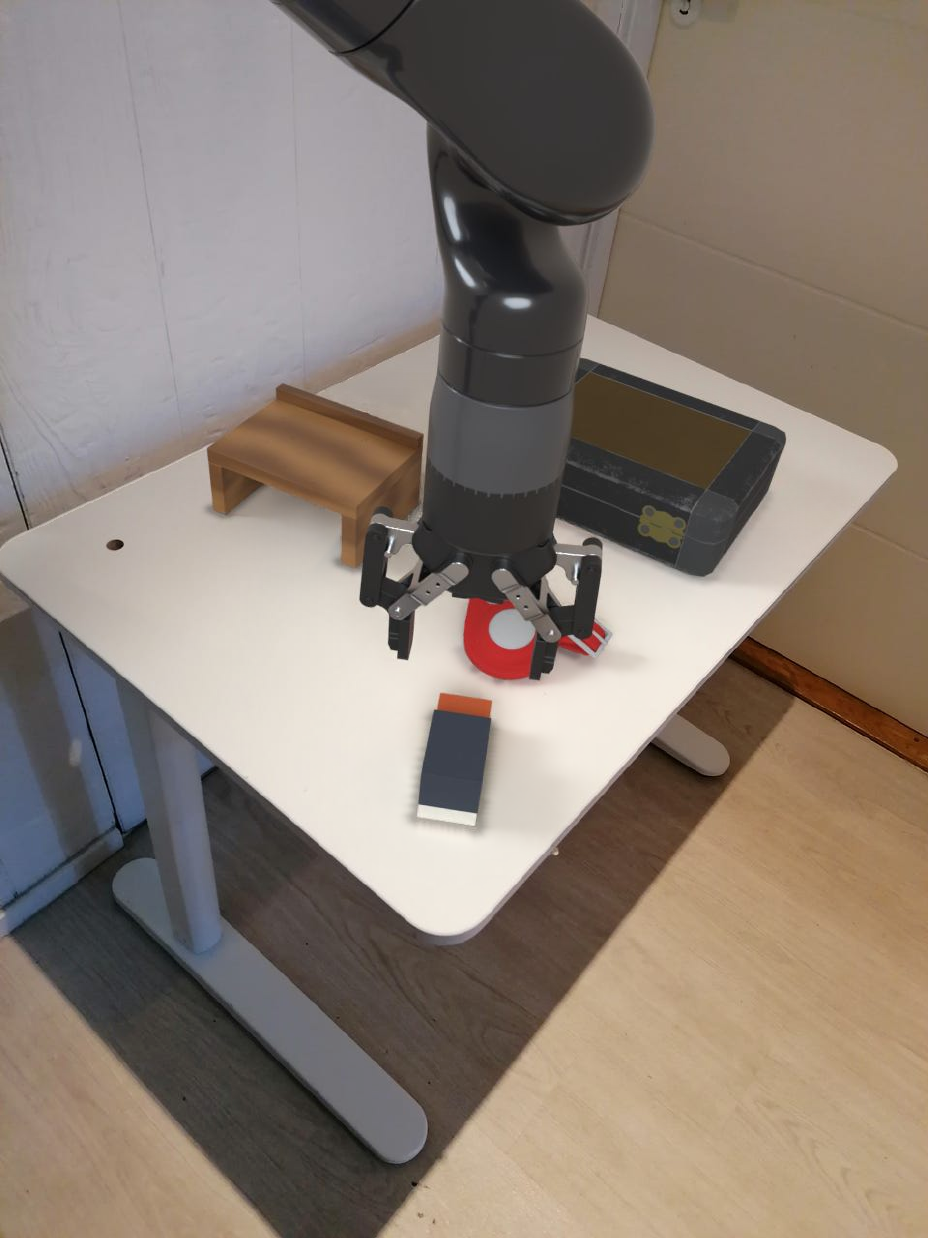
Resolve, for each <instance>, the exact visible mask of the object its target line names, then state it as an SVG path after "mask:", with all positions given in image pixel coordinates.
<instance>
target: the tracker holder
mask: <svg viewBox="0 0 928 1238" xmlns="http://www.w3.org/2000/svg"><path fill="white" fill-rule="evenodd" d="M464 617H465V618H464V623H463V624H464V625H463V632H462V633H463V635H462V636H463V638H462V639H463V648H464V652H465V655H466V656H467V658H468V660H469V661H470V662H471V664H472V665H473V666H474V667H475V668H476V669H478V670H479V671H480V672H482V673H483V674H485V675H488V676H489V677H492V678H496V679H499V680H506V681H507V680H508V681H513V680H515V681H516V680H522V679H526V678H529V673H530V664H531V656H532V651H533V645H534V640H535V635H536V629H535V627H534V626H533V625H532V623H531V622H530V621H525V620H524V619H523V617H522V616H521V615H520V613H519V612H518V611H517V609H516V608H515V607H514V605H513V604H512V603H511V601H510V600H507V601H503V605H502V604H495V603H490V602H487V601H484V600H481V599H478V598H471V599H468V603H467V607H466V613H465V616H464ZM613 635H614V634H613V632H612V631H611V630H610V629H608V628H607V627H606V626H605V625H604V624H603V623H602V622H600V621H599V620H598V619H597V618H595V619H594V626H593V632H592V635H591V637H589V638H588V639H578V638H576V637H575V636H574V635H568V636H564V637H562V638H561V639H560V640H559V642H558V647H561V648H563V649H565V650H568V651H571V652H574V653H576V654H577V653H578V654H581V655H584V656H590V657H592V658H593V659H594V660H597V659H598V658H599V657H600V656H601V654H602V652H603V651H604V649H605V648H606V647H607V646H609V641H610V640H611V638H612V636H613ZM558 647H557V649H558Z"/></svg>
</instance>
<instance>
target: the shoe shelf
mask: <svg viewBox="0 0 928 1238" xmlns="http://www.w3.org/2000/svg"><path fill="white" fill-rule="evenodd" d="M424 437H425V434H424V433H422V432H420V431H417V430H414V429H411V428H410V427H407V426H403V425H401V424H398V423H395V422H392V421H391V420H386V419H384V418H381V417H378V416H375V415H373V414H370V413H368V412H364V411H361V410H359V409H356V408H353V407H351V406H348V405H345V404H342V403H339V402H337V401H333V400H331V399H328V398H325V397H323V396H320V395H318V394H317V395H316V394H314V393H311V392H310V391H309V392H308V391H306V390H303V389H301V388H298V387H296V386H292V385H289V384H287V383H284V382H282V383H280V384H279V385H277V386H276V387H275V399H273V400H272V401H270V402H269V403H267V405H265V406H263V407H262V408H260V410H258V411H257V412H255V413H254V414H252V415H251V416H250V417H248V418H247V419H245V420H243V421H242V422H241V423H240V424H238V425H237V426H235V427H234V428H232V429H231V430H230V431H228V432H226V433H225V434H224V435H222V436H221V437H219V438H218V439H217V440H215V441H214V442H213V443H212V444H210V445H208V446H207V447H206V455H207V463H208V464H207V465H208V473H209V474H208V475H209V482H210V492H211V493H210V494H211V502H212V503H211V504H212V511H215V512H218V513H220V514H223V515H227V514H228V513H230V512H231V511H232V510H234V508H236V507H237V506H238V505H240V504H241V503H242V502H243V501H245V500H246V499H247V498H249V496H251V495H252V494H253V493H255V492H257V490H258V489H259V488H261V487H262V486H264V485H266V486H269V487H272V488H274V489H276V490H279V491H281V492H284V493H287V494H289V495H292V496H294V497H297V498H300V499H302V500H304V501H307V502H309V503H311V504H314V505H317V506H319V507H322V508H324V509H327V510H329V511H332V512H334V513H337V514H339V515H341V560H340V561H341V564H343V565H345V566H347V567H350V568H352V569H357V567H358V566H359V565H360V564H361V563H363V555H364V544H365V536H366V533H367V530H368V527H369V524H370V521H371V518H372V515H373V512H374V510H375V508H377V507H379V506H385V507H387V508H389V509H390V510H391V511H392V512H393V518H395V519H400V520H405V519H406V518H407V517H408V516H409V515H410V514H411V513H412V512H413V511H414V510H415V509H416V508H417V507H419V505H420V495H421V479H422V469H423V468H422V467H423V452H424V440H425V439H424Z"/></svg>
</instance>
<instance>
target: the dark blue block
mask: <svg viewBox="0 0 928 1238" xmlns="http://www.w3.org/2000/svg"><path fill="white" fill-rule="evenodd" d="M492 705H493V700H491V699H484V698H478V697H471V696H466V695H459V694H453V693H445V692H439V697H438V702H437V707H436V709H433V712H432V718H431V723H430V727H429V732H428V738H427V742H426V748H425V753H424V758H423V762H422V768H421V772H420V781H419V792H418V800H417V801H418V802H417V803H418V804H417V811H416V812H417V813H416V816H417V817H416V818H421V819H427V820H432V821H433V820H434V821H438V822H439V821H440V822H446V823H452V824H459V825H466V826H471V827H475V826H476V823H477V817H478V813H479V812H478V811H479V805H480V800H481V793H482V788H483V782H484V781H483V780H484V774H485V773H484V772H485V767H486V760H487V752H488V746H489V738H490V731H491V724H492V715H491V712H492Z"/></svg>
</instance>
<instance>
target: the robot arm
mask: <svg viewBox="0 0 928 1238" xmlns="http://www.w3.org/2000/svg"><path fill="white" fill-rule="evenodd" d="M268 1H269V2H270V3H271V4H272V5H273V6H275V7H276V8H277V9H278V10H279V11H281V12H282V13H283V14H284V15H285V16H286V17H287V18H289V19H290V20H291V21H292V22H293V23H295V25H297V26H298V27H299V28H300V29H302V30H303V31H304V32H305V33H306V34H307V35H309V37H311V38H312V39H313V40H315V42H318V44H319V45H320V46H321V47H322V48H323V49H325V50H327V52H328V53H330V54H331V55H332V56H333V57H335V58H336V59H337V60H338V61H340V62H341V63H343V64H344V65H345V66H346V67H348V68H349V69H351V70H352V71H354V72H355V73H356V74H358V75H359V76H361V77H363V78H364V79H365V80H367V81H369V82H370V83H372V84H373V85H375V86H377V87H378V88H380V89H382V90H383V91H385V92H387V93H389V94H390V95H392V96H394V97H395V98H397V99H398V100H400V101H401V102H403V103H404V104H405V105H407V106H408V107H409V108H411V110H413V111H415V112H416V113H417V114H418V115H419V116H420V117H422V119H424V120H425V121H426V130H425V139H426V140H425V141H426V154H427V166H428V167H427V169H428V175H429V176H428V177H429V184H430V193H431V203H432V210H433V218H434V219H433V220H434V228H435V235H436V240H437V246H438V252H439V257H440V261H441V262H440V263H441V267H442V275H443V284H444V289H443V290H444V291H443V298H442V305H441V315H440V316H441V318H440V326H439V327H440V328H439V330H440V331H439V340H438V341H439V342H438V357H437V367H436V374H435V375H436V376H435V379H434V385H433V389H432V393H431V398H430V403H429V413H428V427H427V429H428V430H427V441H426V454H425V455H426V457H425V469H424V473H425V474H424V483H423V484H424V485H423V499H422V512H421V513H422V514H421V517H419V519H418V520H417V522H414V521H410V520H405V519H404V520H400V519H395V518H393V512H392V511H391V510H390V509H389V508H387V507H385V506H379V507H377V508H375V510H374V512H373V515H372V518H371V521H370V524H369V527H368V530H367V533H366V536H365V544H364V555H363V561H362V566H361V576H360V577H361V579H360V588H359V597H358V599H359V602H360V604H361V605H362V606H364V607H366V608H375V607H377V606H378V607H380V608H382V609H384V610H385V611H386V612H387V614H388V632H387V645H388V648H389V650H390V651H395V652H397V653H396V654H397V655H396V658H397V660H403V661H409V659H410V654H411V651H412V646H413V640H414V632H415V619H416V617H415V616H416V610H417V609H419V608H420V607H421V606H423V607H426V606H428V605H430V604H431V602H433V601H435V600H436V599H437V598H438V597H440V596H441V595H442V594H443V593H445V592H446V591H447V592H448V593H450V594H451V598H456V599H462V600H469V599H471V598H478V599H481V600H484V601H487V602H490V603H495V604H502V605H503V601H507V600H510V601H511V603H512V604H513V605H514V607H515V608H516V609H517V611H518V612H519V613H520V615H521V616H522V617H523V619H524V620H525V621H530V622H531V623H532V625H533V626H534V627H535V629H536V635H535V640H534V645H533V651H532V656H531V664H530V673H529V677H528V679H529V680H532V681H539V682H540V681H541V676H542V674H545V675H549V674H550V673H551V672H552V671H553V669H554V666H555V661H556V656H557V650H558V648H557V647H559V646H558V642H559V640H560V639H561V638H562V637H564V636H568V635H574V636H575V637H576V638H578V639H588V638H589V637H591V635H592V632H593V626H594V619H596V613H597V605H598V599H599V593H600V587H601V586H600V585H601V580H602V575H603V573H602V572H603V552H604V551H603V550H604V549H603V546H604V545H603V541H602V540H601V539H599V538H598V537H594V536H591V537H587V538H586V539H584V540H583V541H582V543H581V544H580V545H579V544H570V543H569V544H568V543H559V542H558V541H557V539H556V537H555V533H554V528H555V523H556V519H557V518H556V513H557V507H558V502H559V496H560V491H561V485H562V480H563V475H564V469H565V464H566V458H567V453H568V449H569V447H570V443H571V431H572V424H573V414H574V389H575V381H576V377H577V371H578V366H579V360H580V358H581V355H582V349H583V343H584V337H585V331H586V325H587V319H588V318H587V317H588V313H589V303H590V302H589V301H590V291H589V290H590V289H589V283H588V280H587V277H586V275H585V273H584V271H583V269H582V267H581V266H580V264H579V263H578V261H577V260H576V258H575V257H574V256H573V254H572V252H571V251H570V249H569V248H568V247H567V245H566V243H565V240H564V239H563V236H562V233H561V230H560V227H579V226H580V227H581V226H585V225H589V224H593V223H596V222H597V221H600V220H603V219H604V218H606V217H608V216H610V215H611V214H613V213H614V212H616V211H618V210H619V209H620V208H621V207H622V206H624V205H625V204H626V203H628V201H629V200H630V199H631V198H632V196H634V194H635V193H637V191H638V189H639V187H640V186H641V184H642V183H643V181H644V179H645V178H646V175H647V173H648V171H649V168H650V166H651V163H652V159H653V156H654V153H655V147H656V140H657V128H658V127H657V126H658V125H657V112H656V111H657V110H656V106H655V99H654V97H653V96H654V95H653V93H652V89H651V87H650V84H649V81H648V78H647V76H646V74H645V72H644V70H643V68H642V66H641V65H640V63H639V61H638V60H637V58H636V57H635V55H634V54H633V52H632V51H631V50H630V49H629V47H628V45H626V44H625V42H624V41H623V40H622V39H621V38H620V36H619V35H618V34H617V33H616V32H615V31H614V30H613V29H612V28H611V27H610V26H609V25H608V24H607V23H606V22H605V21H604V20H603V19H601V17H600V16H599V15H597V13H595V12H594V10H592V9H591V8H590V7H589V6H588V5H587V4H586V3H585V2H583V1H582V0H268ZM410 544H411V547H412V549H413V552H414V553H415V554H416V555H417V556H418V559H419V560H417V562H416V563H415V565H414V566H413V567H412V569H410V571H408V572H407V573H406V574H404V575H403V576H402V577H401V578H399V579H398V580H395V579H392V578H390V577H388V576H387V572H388V564H389V559H390V558H392V556H395V555H397V554H399V552H400V551H401V548H402V547H403V546H405V545H410ZM556 566H559V567H560V568H562V569H563V571H564V572H565V577H566V579H567V580H568V582H570V583H571V585H572V586H575V595H574V602H573V604H569V605H562V603H561V602H560V601H559V599H558V598H557V597H556V595H555V593H554V592H553V591H552V590H551V588H550V586H549V581H548V579H547V577H546V576H547V575H548V574H549V573H551V571H553V569H554V568H555V567H556Z"/></svg>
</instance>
